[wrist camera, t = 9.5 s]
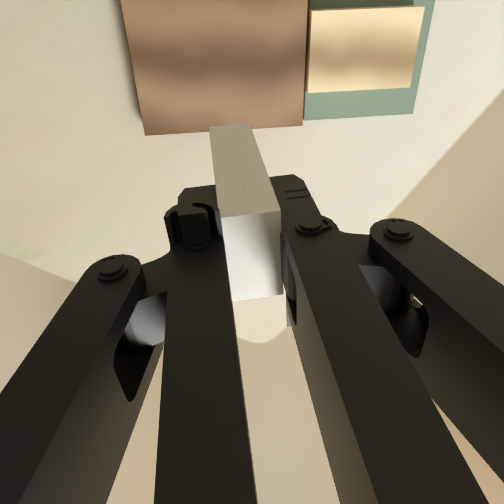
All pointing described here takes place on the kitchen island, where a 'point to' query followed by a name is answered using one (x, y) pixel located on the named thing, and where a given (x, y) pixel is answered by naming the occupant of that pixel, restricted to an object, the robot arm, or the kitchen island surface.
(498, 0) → the kitchen island surface
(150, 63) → the walnut deck
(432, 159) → the kitchen island surface
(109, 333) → the robot arm
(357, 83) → the maple tile
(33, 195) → the kitchen island surface
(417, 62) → the rubber mat
